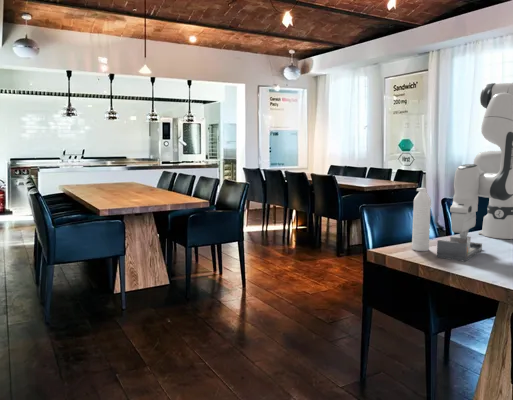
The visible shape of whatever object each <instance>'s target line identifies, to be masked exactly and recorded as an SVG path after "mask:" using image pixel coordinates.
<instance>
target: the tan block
mask: <svg viewBox="0 0 513 400" xmlns="http://www.w3.org/2000/svg"><path fill="white" fill-rule="evenodd" d="M449 238H450V240H449V241H452V242H460V243H468V244H467V247H468V250H470V242H471V239H472V238H471V236H468V235H467V236H460V234H454V235H451V236H450V237H449Z"/></svg>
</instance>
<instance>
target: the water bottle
mask: <svg viewBox="0 0 513 400" xmlns="http://www.w3.org/2000/svg"><path fill="white" fill-rule="evenodd" d="M416 192H418V193H417V194H416V195H415V197H414V199H413V212H412V213H413V214H412V232H411V235H412V238H411V250H413V251H416V252H428V251H429V250H430V234H431V233H430V229H431V226H430V224H431V210H432V209H431V208H432V207H431V206H432V199H431V197H430V196H429V194H428V193H427V188H426V187H418V188H416Z"/></svg>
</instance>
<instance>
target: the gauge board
mask: <svg viewBox="0 0 513 400" xmlns="http://www.w3.org/2000/svg"><path fill="white" fill-rule="evenodd" d="M436 243H437V247H436V257H437V258H440V259H447V260H455V261H460V262H466V261H467V260H469V259H471V258H473V256H475V255H477V253H479V252H480V251H482V250H483V243H480V242H471V241H470V250H468V252H467V244H468V243H460V242H452V241H450V240H443V239H442V240H441V239H438V240H437V242H436Z"/></svg>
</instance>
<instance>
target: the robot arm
mask: <svg viewBox="0 0 513 400" xmlns="http://www.w3.org/2000/svg"><path fill="white" fill-rule="evenodd" d="M479 101H480V105H481V106H482V107H483V109H485V112H484V115H483V119H482V122H481V134H482V137H484V138H483V139H485V140H487V141H488V142H490V143H491V144H494V145H496V146H498V148H500V150H487V151H486V150H485V151H483V152H482V151H481V152H478V153H477V154H476V155H475V156H474V159H473V163H467V164H461V165H459V166H457V167H456V170H455V172H454V180H453V188H454V194H453V196H452V197H453V198H452V205H450V209H449V211H450V213H451V217H450V220H451V221H450V224H451V227H450V228H451V232H452V233H456V234H458V235H460V236H468V234H469V230H470V229H473V228H474V227H476V222H477V221H476V219H477V215H476V212H478V208H479V206H478V205H479V197H480V198H481V197H482V198H488V199H489V201H488V205H487V208H486V209H487V214H486V215H484V216H483V221H482V229H481V230H479V231H478V233H477V234H478V235H481V236H484V237H487V238H494V239H503V240H513V82H505V83H501V82H500V83H495V82H494V83H487V84H486V85H484V86H483V88H482V90H481V91H480V96H479Z"/></svg>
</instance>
